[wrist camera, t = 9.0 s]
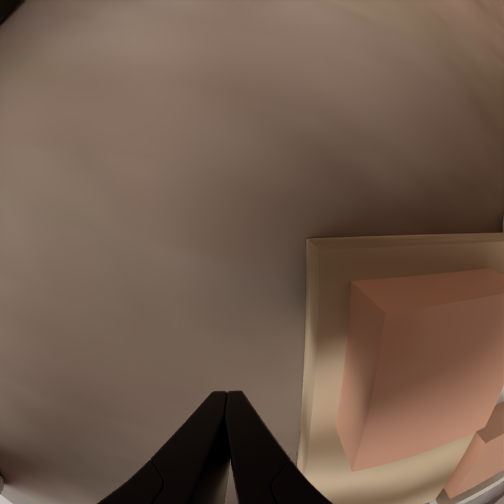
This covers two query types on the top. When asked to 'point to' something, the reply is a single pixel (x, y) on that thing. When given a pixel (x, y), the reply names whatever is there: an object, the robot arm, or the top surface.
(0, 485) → the water bottle
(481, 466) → the tile
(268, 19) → the top surface
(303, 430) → the oak board
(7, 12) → the supplement bottle
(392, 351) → the tile
